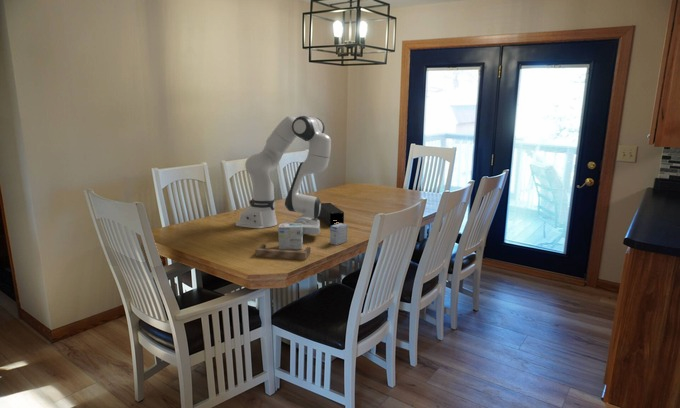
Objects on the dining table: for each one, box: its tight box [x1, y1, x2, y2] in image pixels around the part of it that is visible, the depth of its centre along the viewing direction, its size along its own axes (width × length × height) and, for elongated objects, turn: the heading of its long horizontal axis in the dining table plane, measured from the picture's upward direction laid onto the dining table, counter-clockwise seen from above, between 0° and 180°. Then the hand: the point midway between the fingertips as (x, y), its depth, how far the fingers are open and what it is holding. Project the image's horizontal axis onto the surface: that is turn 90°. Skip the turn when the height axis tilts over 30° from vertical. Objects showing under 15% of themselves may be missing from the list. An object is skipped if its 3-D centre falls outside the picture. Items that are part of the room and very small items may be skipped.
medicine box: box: [329, 223, 348, 246], centre depth 208 cm, size 8×4×9 cm, turn 141°
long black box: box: [318, 202, 345, 227], centre depth 249 cm, size 8×8×28 cm
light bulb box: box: [278, 223, 304, 251], centre depth 200 cm, size 11×7×11 cm, turn 92°
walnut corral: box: [255, 243, 311, 261], centre depth 190 cm, size 22×8×3 cm, turn 79°
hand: (295, 232), depth 207 cm, fingers closed
